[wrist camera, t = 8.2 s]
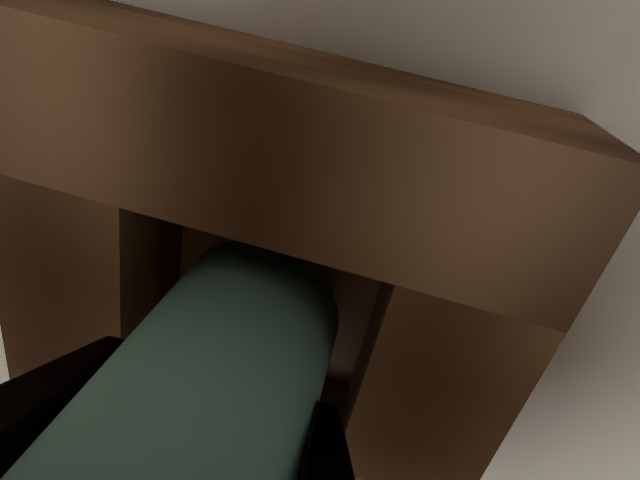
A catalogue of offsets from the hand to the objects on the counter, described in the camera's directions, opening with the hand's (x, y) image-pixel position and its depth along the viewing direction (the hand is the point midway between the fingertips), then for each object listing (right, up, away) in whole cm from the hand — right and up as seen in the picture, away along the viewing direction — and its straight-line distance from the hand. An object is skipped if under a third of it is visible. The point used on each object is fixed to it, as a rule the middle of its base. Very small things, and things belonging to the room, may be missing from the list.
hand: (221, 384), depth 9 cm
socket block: (+1, +2, +4) cm, 5 cm away
